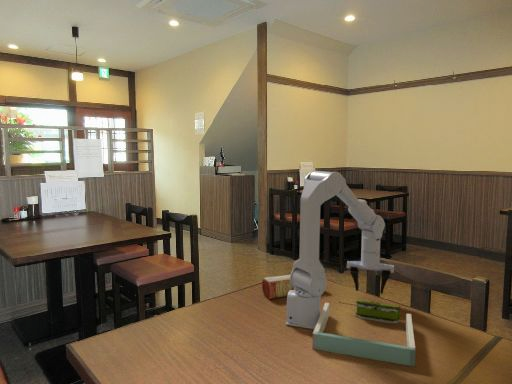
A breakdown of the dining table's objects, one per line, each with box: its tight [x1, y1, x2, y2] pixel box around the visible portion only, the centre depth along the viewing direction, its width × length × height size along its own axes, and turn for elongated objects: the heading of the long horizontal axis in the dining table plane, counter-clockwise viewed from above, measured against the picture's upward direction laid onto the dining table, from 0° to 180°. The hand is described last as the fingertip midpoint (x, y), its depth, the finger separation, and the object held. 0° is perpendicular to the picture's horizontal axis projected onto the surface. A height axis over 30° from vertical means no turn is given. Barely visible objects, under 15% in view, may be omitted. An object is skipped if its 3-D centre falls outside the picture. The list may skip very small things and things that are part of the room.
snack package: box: [261, 274, 294, 300], centre depth 130 cm, size 21×7×7 cm, turn 112°
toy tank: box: [338, 300, 402, 324], centre depth 112 cm, size 7×19×10 cm
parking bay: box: [311, 302, 416, 367], centre depth 99 cm, size 24×20×4 cm
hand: (369, 291), depth 123 cm, fingers open, 7 cm apart
